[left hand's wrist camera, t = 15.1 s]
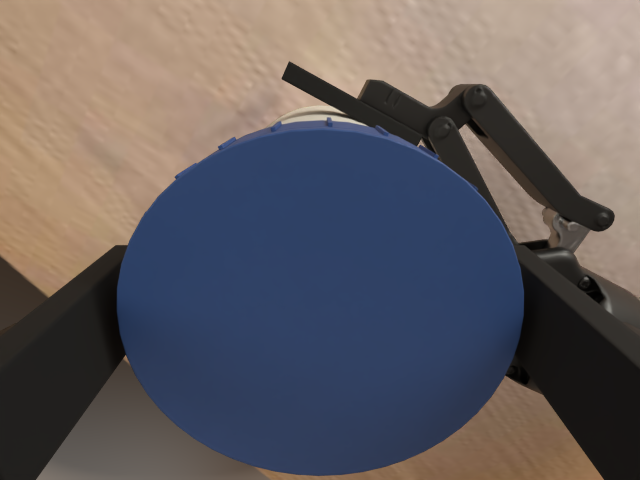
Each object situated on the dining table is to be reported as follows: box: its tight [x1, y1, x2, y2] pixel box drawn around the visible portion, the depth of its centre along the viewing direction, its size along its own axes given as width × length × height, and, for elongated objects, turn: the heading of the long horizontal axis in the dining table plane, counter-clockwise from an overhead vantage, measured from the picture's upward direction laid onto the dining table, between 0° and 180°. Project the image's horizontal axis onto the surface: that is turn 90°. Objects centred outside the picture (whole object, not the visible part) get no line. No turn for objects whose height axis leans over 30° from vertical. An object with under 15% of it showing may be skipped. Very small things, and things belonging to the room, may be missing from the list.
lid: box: [117, 117, 524, 476], centre depth 11 cm, size 11×11×2 cm
